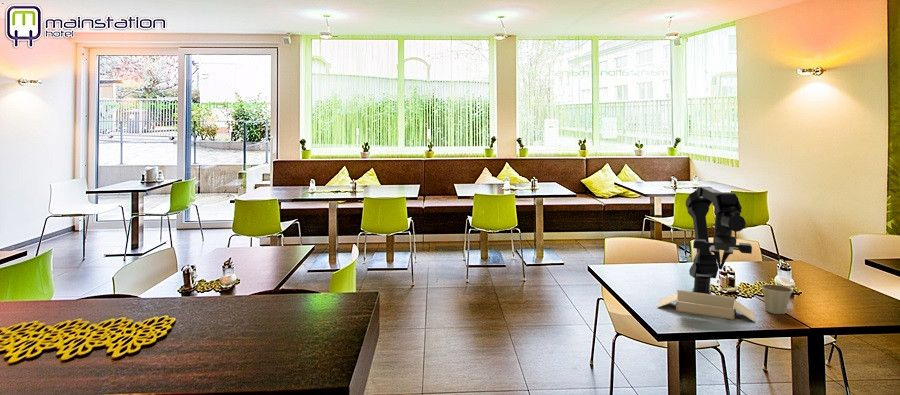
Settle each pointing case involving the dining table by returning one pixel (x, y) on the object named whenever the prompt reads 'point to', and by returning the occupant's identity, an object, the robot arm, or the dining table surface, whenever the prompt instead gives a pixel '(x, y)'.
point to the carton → (707, 308)
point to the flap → (706, 299)
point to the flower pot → (776, 298)
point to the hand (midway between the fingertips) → (720, 269)
